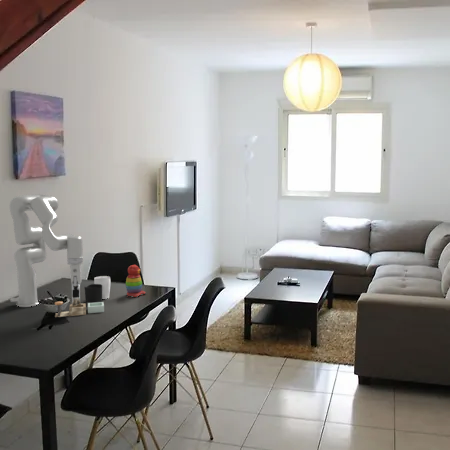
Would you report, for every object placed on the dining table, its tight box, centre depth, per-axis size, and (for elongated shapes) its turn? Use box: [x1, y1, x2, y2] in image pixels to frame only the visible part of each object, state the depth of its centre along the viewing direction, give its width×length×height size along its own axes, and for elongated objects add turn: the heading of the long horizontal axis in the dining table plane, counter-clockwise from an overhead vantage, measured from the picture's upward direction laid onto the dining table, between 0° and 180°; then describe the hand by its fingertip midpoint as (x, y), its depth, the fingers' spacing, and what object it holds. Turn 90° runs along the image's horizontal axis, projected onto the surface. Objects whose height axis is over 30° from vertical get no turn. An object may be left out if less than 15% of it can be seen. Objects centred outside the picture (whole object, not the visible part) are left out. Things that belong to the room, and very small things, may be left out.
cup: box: [93, 275, 112, 300], centre depth 315 cm, size 9×9×12 cm
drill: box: [71, 282, 81, 306], centre depth 282 cm, size 4×4×12 cm
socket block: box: [54, 302, 87, 318], centre depth 282 cm, size 15×9×6 cm, turn 103°
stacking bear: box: [125, 264, 147, 297], centre depth 321 cm, size 11×10×18 cm
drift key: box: [54, 300, 64, 312], centre depth 280 cm, size 4×4×4 cm
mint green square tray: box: [87, 301, 105, 314], centre depth 287 cm, size 8×8×4 cm
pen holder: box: [83, 283, 103, 305], centre depth 303 cm, size 9×9×10 cm
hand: (76, 295), depth 282 cm, fingers closed on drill, 4 cm apart
